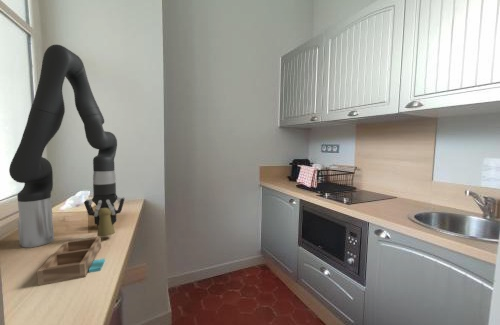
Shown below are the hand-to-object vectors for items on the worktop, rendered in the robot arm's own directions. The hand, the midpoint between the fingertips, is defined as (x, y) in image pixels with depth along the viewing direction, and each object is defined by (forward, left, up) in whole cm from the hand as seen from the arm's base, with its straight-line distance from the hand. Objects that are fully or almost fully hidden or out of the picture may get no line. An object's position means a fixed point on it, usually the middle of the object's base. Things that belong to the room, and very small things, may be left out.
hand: (106, 224), depth 91 cm
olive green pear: (0, 0, -4) cm, 4 cm away
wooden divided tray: (+6, -18, -6) cm, 20 cm away
